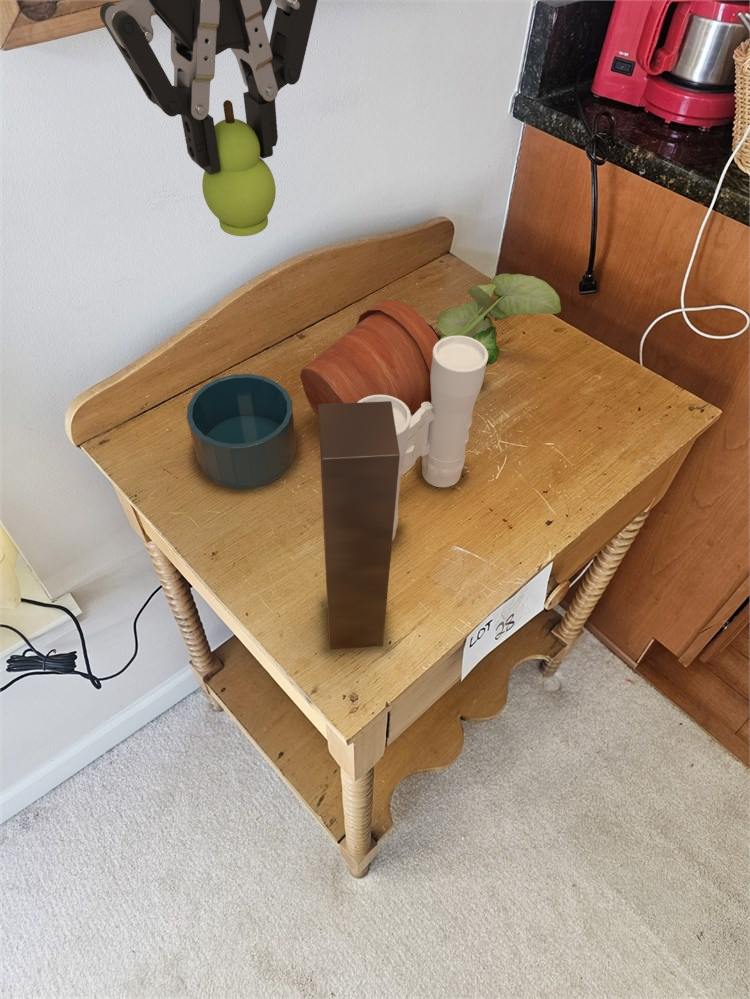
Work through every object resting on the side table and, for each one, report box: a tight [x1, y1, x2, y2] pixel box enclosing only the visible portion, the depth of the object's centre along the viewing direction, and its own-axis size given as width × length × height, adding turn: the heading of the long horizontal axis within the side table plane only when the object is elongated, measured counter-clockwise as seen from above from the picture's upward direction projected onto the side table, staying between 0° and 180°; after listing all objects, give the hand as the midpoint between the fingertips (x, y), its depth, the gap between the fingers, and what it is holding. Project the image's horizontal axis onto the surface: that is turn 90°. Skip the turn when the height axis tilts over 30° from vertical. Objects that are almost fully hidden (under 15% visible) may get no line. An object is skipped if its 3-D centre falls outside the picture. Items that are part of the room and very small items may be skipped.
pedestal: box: [318, 401, 400, 651], centre depth 59 cm, size 5×5×28 cm
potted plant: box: [299, 272, 562, 419], centre depth 87 cm, size 16×15×35 cm
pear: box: [201, 99, 277, 237], centre depth 49 cm, size 5×5×9 cm
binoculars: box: [357, 335, 488, 542], centre depth 73 cm, size 17×5×18 cm, turn 138°
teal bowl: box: [186, 373, 297, 490], centre depth 81 cm, size 12×12×7 cm
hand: (235, 159), depth 49 cm, fingers closed on pear, 3 cm apart
